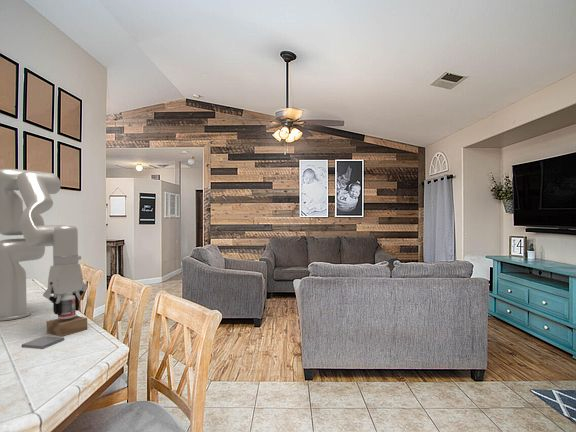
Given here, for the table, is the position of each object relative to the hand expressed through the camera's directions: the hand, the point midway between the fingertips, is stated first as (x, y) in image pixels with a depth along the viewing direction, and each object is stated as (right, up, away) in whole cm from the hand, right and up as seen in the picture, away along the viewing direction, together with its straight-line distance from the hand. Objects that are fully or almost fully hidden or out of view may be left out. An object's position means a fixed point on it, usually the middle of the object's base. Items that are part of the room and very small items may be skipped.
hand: (66, 311), depth 130 cm
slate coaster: (0, -7, -13) cm, 14 cm away
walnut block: (0, -7, 0) cm, 7 cm away
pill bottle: (0, -2, 0) cm, 2 cm away
